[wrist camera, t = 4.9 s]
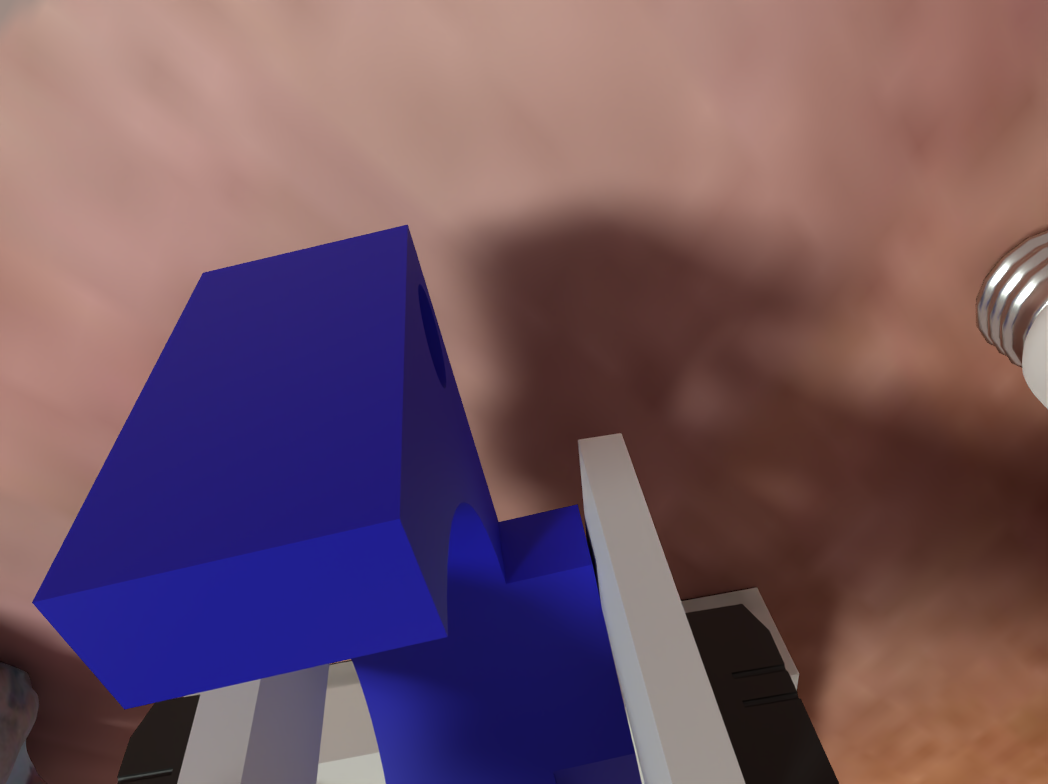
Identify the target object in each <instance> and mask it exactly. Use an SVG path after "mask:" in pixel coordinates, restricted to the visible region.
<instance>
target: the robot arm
mask: <svg viewBox="0 0 1048 784" xmlns="http://www.w3.org/2000/svg"><path fill="white" fill-rule="evenodd" d="M578 447H579V458H580V469H581V481H582V492H583V503H584V515H585V526H586V537H587V544H588V548H589V553H590V557H591V561H592V565H593V569H594V574H595V578H596V583H597V587H598V592H599V596H600V601H601V607H602V611H603V615H604V620H605V624H606V628H607V632H608V636H609V640H610V644H611V648H612V652H613V656H614V660H615V664H616V669H617V673H618V677H619V681H620V685H621V689H622V693H623V697H624V701H625V705H626V709H627V713H628V718H629V722H630V726H631V730H632V734H633V738H634V742H635V746H636V750H637V754H638V758H639V763H640V767H641V771H642V775H643V779H644V783H645V784H839V782H838V780H837V778H836V776H835V773H834V771H833V769H832V767H831V765H830V762H829V760H828V758H827V756H826V754H825V751H824V749H823V747H822V745H821V743H820V740H819V738H818V736H817V734H816V732H815V729H814V727H813V725H812V723H811V721H810V718H809V716H808V714H807V712H806V710H805V707H804V705H803V703H802V701H801V699H799V697H798V694H797V690H796V688H795V685H794V683H793V681H792V679H791V677H790V674H789V672H788V671H786V669H785V664H784V661H783V659H782V657H781V655H780V653H779V650H778V648H777V646H776V644H775V642H774V639H773V637H772V635H771V633H770V631H769V629H767V628H766V627H765V626H764V625H763V624H762V623H761V622H760V621H759V620H758V619H757V618H756V617H755V616H754V615H753V614H752V613H751V612H750V611H749V610H748V609H747V608H746V607H745V606H744V605H743V604H737V605H731V606H725V607H719V608H713V609H706V610H700V611H694V612H688V613H685V611H684V609H683V606H682V603H681V600H680V597H679V594H678V592H677V589H676V586H675V583H674V580H673V577H672V575H671V572H670V569H669V566H668V563H667V560H666V558H665V555H664V552H663V549H662V546H661V544H660V541H659V538H658V535H657V532H656V529H655V527H654V524H653V521H652V518H651V515H650V512H649V510H648V507H647V504H646V501H645V498H644V496H643V493H642V490H641V487H640V484H639V481H638V479H637V476H636V473H635V470H634V467H633V464H632V462H631V459H630V456H629V453H628V450H627V447H626V445H625V442H624V439H623V436H622V433H618V434H612V435H605V436H599V437H593V438H586V439H580V440H578ZM328 672H329V664H325V665H320V666H316V667H311V668H307V669H303V670H298V671H294V672H289V673H285V674H280V675H276V676H271V677H267V678H262V679H258V680H254V681H249V682H245V683H240V684H236V685H231V686H227V687H222V688H218V689H213V690H209V691H204V692H201V694H199V695H193V696H187V697H181V698H175V699H169V700H164V701H160V702H155V704H154V705H153V706H152V708H151V709H150V711H149V712H148V713H147V715H146V716H145V718H144V719H143V721H142V722H141V723H140V725H139V726H138V728H137V729H136V730H135V732H134V733H133V735H132V736H131V737H130V740H129V743H128V746H127V749H126V752H125V755H124V758H123V761H122V764H121V767H120V770H119V774H118V783H117V784H316V782H317V772H318V763H319V754H320V745H321V736H322V727H323V718H324V709H325V699H326V690H327V681H328Z"/></svg>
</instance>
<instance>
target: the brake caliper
mask: <svg viewBox="0 0 1048 784" xmlns="http://www.w3.org/2000/svg"><path fill="white" fill-rule="evenodd" d="M38 709H39V698H38V695H37V693H36V692H35V691H34V690H33V689H32V686H31V681H30V677H29V675H28V673H27V672H25V671H23V670H21V669H18V668H16V667H13V666H10V665H8V664H5V663H1V662H0V784H47V783H46V782H45V781H44V780H43V779H42V778H41V777H40V776H39V775H38V773H37V771H36V769H35V767H34V765H33V763H32V762H31V760H30V758H29V755H28V753H27V749H26V738H27V737H28V735H29V733H30V731H31V729H32V727H33V725H34V724H35V721H36V718H37V712H38Z"/></svg>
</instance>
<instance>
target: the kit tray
mask: <svg viewBox="0 0 1048 784" xmlns="http://www.w3.org/2000/svg"><path fill="white" fill-rule="evenodd" d="M681 603H682V606H683V609H684V611H685V613H688V612H694V611H700V610H706V609H713V608H719V607H725V606H731V605H737V604H743V605H744V606H745V607H746V608H747V609H748V610H749V611H750V612H751V613H752V614H753V615H754V616H755V617H756V618H757V619H758V620H759V621H760V622H761V623H762V624H763V625H764V626H765V627H766V628H767V629H769V631H770V633H771V635H772V637H773V639H774V642H775V644H776V646H777V648H778V650H779V653H780V655H781V657H782V659H783V661H784V664H785V669H786V671H788V672H789V674H790V677H791V679H792V681H793V683H794V685H795V688H796V690H797V685H798V678H799V672H798V670H797V668H796V666H795V664H794V662H793V660H792V658H791V656H790V654H789V652H788V650H787V648H786V646H785V644H784V641H783V639H782V637H781V635H780V633H779V631H778V629H777V627H776V625H775V623H774V621H773V619H772V617H771V615H770V613H769V611H768V609H767V607H766V605H765V603H764V601H763V599H762V596H761V594H760V592H759V590H758V588H751V589H746V590H740V591H735V592H729V593H724V594H718V595H713V596H707V597H702V598H696V599H691V600H685V601H681ZM608 637H609V636H608ZM609 641H610V640H609ZM610 645H611V644H610ZM611 650H612V648H611ZM612 654H613V652H612ZM613 659H614V656H613ZM614 663H615V660H614ZM615 667H616V664H615ZM616 672H617V669H616ZM617 676H618V673H617ZM618 680H619V677H618ZM619 685H620V681H619ZM620 689H621V685H620ZM621 693H622V689H621ZM199 694H201V692H200V693H196V694H191V695H187V696H193V695H199ZM187 696H184V697H187ZM622 698H623V702H624V706H625V711H626V715H627V719H628V724H629V728H630V732H631V737H632V741H633V745H634V749H635V754H636V758H637V763H638V768H639V772H640V777H641V782H642V784H645V783H644V779H643V775H642V771H641V767H640V763H639V758H638V754H637V750H636V746H635V742H634V738H633V734H632V730H631V726H630V722H629V718H628V713H627V709H626V705H625V701H624V697H623V693H622ZM316 784H386V782H385V777H384V772H383V767H382V762H381V758H380V753H379V749H378V744H377V740H376V736H375V732H374V728H373V724H372V720H371V717H370V713H369V710H368V706H367V703H366V700H365V696H364V693H363V690H362V687H361V684H360V681H359V678H358V675H357V672H356V670H355V667H354V665H353V662H352V661H349V662H343V663H338V664H332V665H329V672H328V681H327V690H326V699H325V709H324V718H323V727H322V736H321V745H320V754H319V763H318V772H317V782H316Z"/></svg>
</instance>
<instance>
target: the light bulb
mask: <svg viewBox="0 0 1048 784" xmlns="http://www.w3.org/2000/svg"><path fill="white" fill-rule="evenodd" d="M976 326H977V328H978V329H979V331H980V332H981V334H982V335H983V337H984V338H985V340H986V342H987V343H989V344H991V345H993V346H995V347H996V349H997V350H998V352H999V353H1001V354H1003V355H1005V356H1007V357H1008V358H1009V360H1010V362H1011V363H1012V364H1015V365H1017V366H1019V367H1021V368H1023V375H1024V378H1025V380H1026V383H1027V385H1028V386H1029V388H1030V389H1031V391H1032V392H1033V394H1034V395H1035V396H1036V397H1037V398H1038V399H1039V400H1040V401H1041V403H1042V404H1043V405H1044V406H1045V407H1046V408H1047V409H1048V230H1047V231H1044V232H1042V233H1039V234H1037V235H1034V236H1032V237H1029V238H1027V239H1026V240H1024V241H1023V242H1022V243H1020V244H1019V245H1018V246H1017V247H1015V248H1014V249H1013V250H1011V251H1010V252H1009V253H1007V254H1006V255H1005V256H1003V257H1002V258H1001V259H1000V260H999V262H998V263H997V264H996V265H995V266H994V268H993V269H992V270H991V271H990V272H989V274H988V275H987V276H986V277H985V279H984V282H983V284H982V286H981V289H980V291H979V293H978V296H977V298H976Z"/></svg>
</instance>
